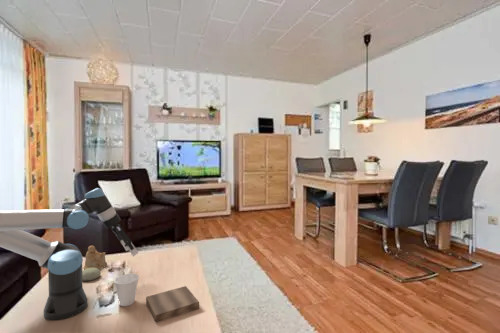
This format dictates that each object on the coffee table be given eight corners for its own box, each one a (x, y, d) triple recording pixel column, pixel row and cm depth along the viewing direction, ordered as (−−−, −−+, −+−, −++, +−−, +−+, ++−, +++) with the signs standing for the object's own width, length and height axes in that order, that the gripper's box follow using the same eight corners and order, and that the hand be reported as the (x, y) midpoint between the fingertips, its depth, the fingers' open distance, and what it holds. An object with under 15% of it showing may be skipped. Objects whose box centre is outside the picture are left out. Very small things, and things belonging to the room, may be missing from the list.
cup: (129, 310, 111) (129, 284, 111) (108, 307, 113) (108, 282, 113) (143, 298, 121) (143, 274, 121) (124, 295, 123) (124, 272, 123)
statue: (90, 244, 161) (104, 240, 159) (97, 266, 161) (110, 263, 158) (73, 251, 149) (87, 247, 147) (80, 275, 149) (94, 272, 147)
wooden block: (155, 322, 104) (155, 315, 103) (146, 303, 117) (146, 296, 117) (199, 308, 113) (199, 301, 113) (185, 292, 127) (185, 286, 127)
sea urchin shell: (95, 268, 147) (99, 261, 144) (99, 281, 144) (104, 274, 140) (76, 274, 140) (80, 266, 137) (80, 287, 137) (85, 280, 133)
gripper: (122, 214, 123) (146, 251, 128) (111, 211, 143) (132, 243, 148) (106, 224, 119) (131, 262, 124) (98, 219, 138) (119, 252, 144)
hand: (132, 251), depth 136 cm, fingers open, 13 cm apart
